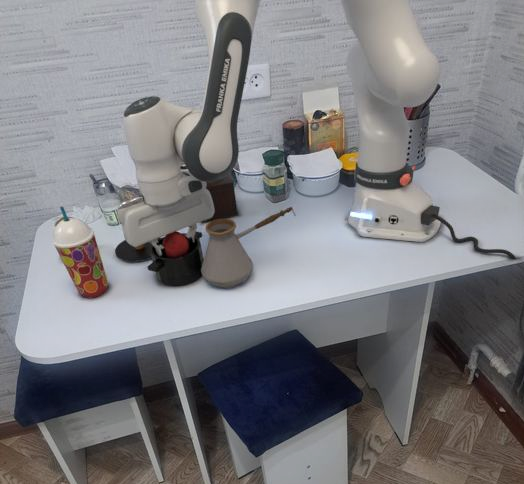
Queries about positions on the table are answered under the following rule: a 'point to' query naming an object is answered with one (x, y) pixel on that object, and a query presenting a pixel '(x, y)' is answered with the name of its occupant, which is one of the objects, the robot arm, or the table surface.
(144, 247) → the pot lid
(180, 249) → the red rounded piece
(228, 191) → the coffee grinder
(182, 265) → the pot
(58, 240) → the smoothie
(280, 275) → the table surface
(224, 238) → the coffee pot
